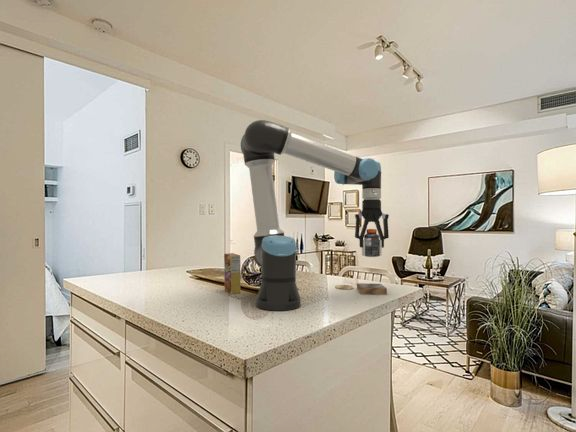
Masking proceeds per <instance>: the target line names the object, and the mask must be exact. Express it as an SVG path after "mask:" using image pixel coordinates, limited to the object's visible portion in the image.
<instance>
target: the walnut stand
mask: <svg viewBox="0 0 576 432" xmlns="http://www.w3.org/2000/svg"><path fill="white" fill-rule="evenodd" d="M356 290H357V291H358V292H359V293H360V295H377V296H378V295H381V296H384V295H385V296H387V295H388V288H387V287H386V286H385V285H383V284H381V283H363V282H362V283H356Z"/></svg>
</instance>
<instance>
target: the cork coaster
mask: <svg viewBox="0 0 576 432" xmlns="http://www.w3.org/2000/svg"><path fill="white" fill-rule="evenodd" d="M334 288H335V289H336V290H337V289H338V290H347V291H348V290H354V286H353V285H349V284H336V285H335V286H334Z"/></svg>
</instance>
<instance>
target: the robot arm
mask: <svg viewBox="0 0 576 432" xmlns="http://www.w3.org/2000/svg"><path fill="white" fill-rule="evenodd" d="M240 140H241V141H240V151H241V153H242V154H243V161H244V162H243V163H244V165H245V166H246V167H247V168H248V169H249V176H250V185H251V193H252V201H253V208H254V209H253V211H254V217H255V218H254V219H255V224H256V232H255V233H254V235H253V240H254V241H253V242H254V250H253V254H254V258H255V261H256V262H257V263H258V264H259V265H260V266H261V283H260V286H259V290H258V293H257V296H256V301H255V302H256V303H255V305H256V307H257V308H259V309H262V310H267V311H275V312H276V311H277V312H278V311H279V312H281V311H290V310H291V311H292V310H295V309H299V308H300V307H301V305H302V304H301V296H300V291H299V289H298V287H297V280H296V279H297V278H296V277H297V272H296V271H297V270H296V269H297V268H296V267H297V241H296V240H295V238H294V237H291V236H285V231H283V229H281V228H280V222H279V214H278V206H277V199H276V191H275V190H276V189H275V183H274V175H273V167H272V166H273V165H274V163H275V162H276V159H275V158H276V157H275V154H277V155H279V156H281V155H283V154H285V155H288V156H291V157H293V158H296V159H300V160H302V161H305V162H307V163H311V164H313V165H316V166H319V167H322V168H325V169H328V170H331V171H334V173H333V179H334V181H335V183H336V184H337V185H343V186H344V185H351V186H353V185H359V186H362V187H361V188H362V192H361V193H362V195H361V196H362V199H363V200H362V207H361V208H362V209H361V211H360V212H359V213H357V214H354V217H355V231H354V238H355V239H358V240H359V248H361V255H362V256H363V257H366V256H365V240H364V236H365V234H366V233H367V229H368V225H369V223H371V222H372V223H374V225H375V227H376V228H375V229H376V230H377V233H378V235H379V257H382V248H383V249H384V248H385V240H387V239H389V222H388V221H389V218H390V217H389V215H390V214H388V213H387V214H386V213H383V211H382V200H381V199H382V166H381V162H379V161H376V160H375V159H374V158H371V157H369V158H366V157H365V158H361V157H359V156H355V155H353V154H349V153H347V152H344V151H342V150H339V149H337V148H333V147H331V146H329V145H326V144H323V143H321V142H318V141H315V140H312V139H310V138H307V137H305V136H303V135H299V134H297V133H295V132H292V131H291V129H290V127H286V126H284V125H281V124H278V123H276V122H272V121H269V120H264V119H263V120H262V119H261V120H255V121H252V122H251V123H250V124H248V126H247V127H246V128H245V131H244V134H243V135H242V137H241V139H240ZM362 218H363V219H364V221H363V225H362V228H361V231H360V226H361V219H362ZM381 218H382V219H383V220H382V223H383V230H382V227H381V223H380V222H381V221H380V219H381Z"/></svg>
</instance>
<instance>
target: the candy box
mask: <svg viewBox="0 0 576 432" xmlns="http://www.w3.org/2000/svg"><path fill="white" fill-rule="evenodd" d="M223 257H224V258H223V259H224V260H223V261H224V266H223V267H224V290H225V291H226V292H228V293H229V294H230V295H235V294H237V295H238V294H241V255H240V254H236V253H233V252H232V253H230V252H228V253H224V255H223Z"/></svg>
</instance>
